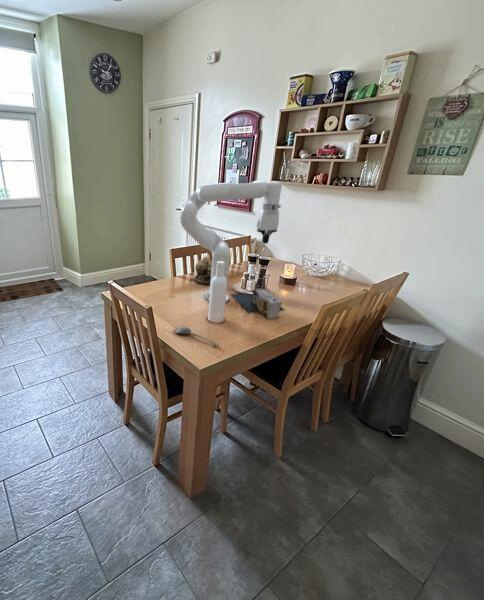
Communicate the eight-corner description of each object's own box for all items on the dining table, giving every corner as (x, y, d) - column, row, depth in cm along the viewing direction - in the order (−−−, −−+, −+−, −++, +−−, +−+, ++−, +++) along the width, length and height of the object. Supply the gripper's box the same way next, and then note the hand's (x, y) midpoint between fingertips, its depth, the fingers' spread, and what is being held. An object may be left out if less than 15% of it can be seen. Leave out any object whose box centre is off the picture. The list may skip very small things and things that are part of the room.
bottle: (205, 317, 167) (209, 260, 155) (218, 314, 170) (223, 258, 158) (212, 323, 160) (217, 265, 148) (226, 321, 163) (232, 263, 151)
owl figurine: (221, 283, 213) (224, 257, 206) (210, 287, 206) (212, 261, 199) (200, 276, 225) (202, 252, 218) (189, 279, 218) (190, 255, 211)
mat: (248, 312, 173) (248, 311, 173) (231, 295, 194) (231, 294, 194) (283, 309, 176) (283, 308, 176) (262, 293, 198) (262, 292, 198)
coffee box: (267, 318, 166) (250, 304, 180) (278, 317, 168) (260, 303, 182) (271, 302, 162) (253, 289, 176) (282, 301, 164) (263, 288, 177)
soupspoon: (180, 329, 156) (172, 334, 152) (180, 323, 155) (171, 328, 150) (220, 343, 143) (212, 350, 138) (220, 337, 141) (212, 343, 137)
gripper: (280, 206, 171) (274, 241, 178) (253, 206, 169) (248, 241, 176) (287, 208, 164) (281, 244, 171) (259, 208, 162) (254, 244, 169)
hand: (264, 242), depth 174 cm, fingers closed
